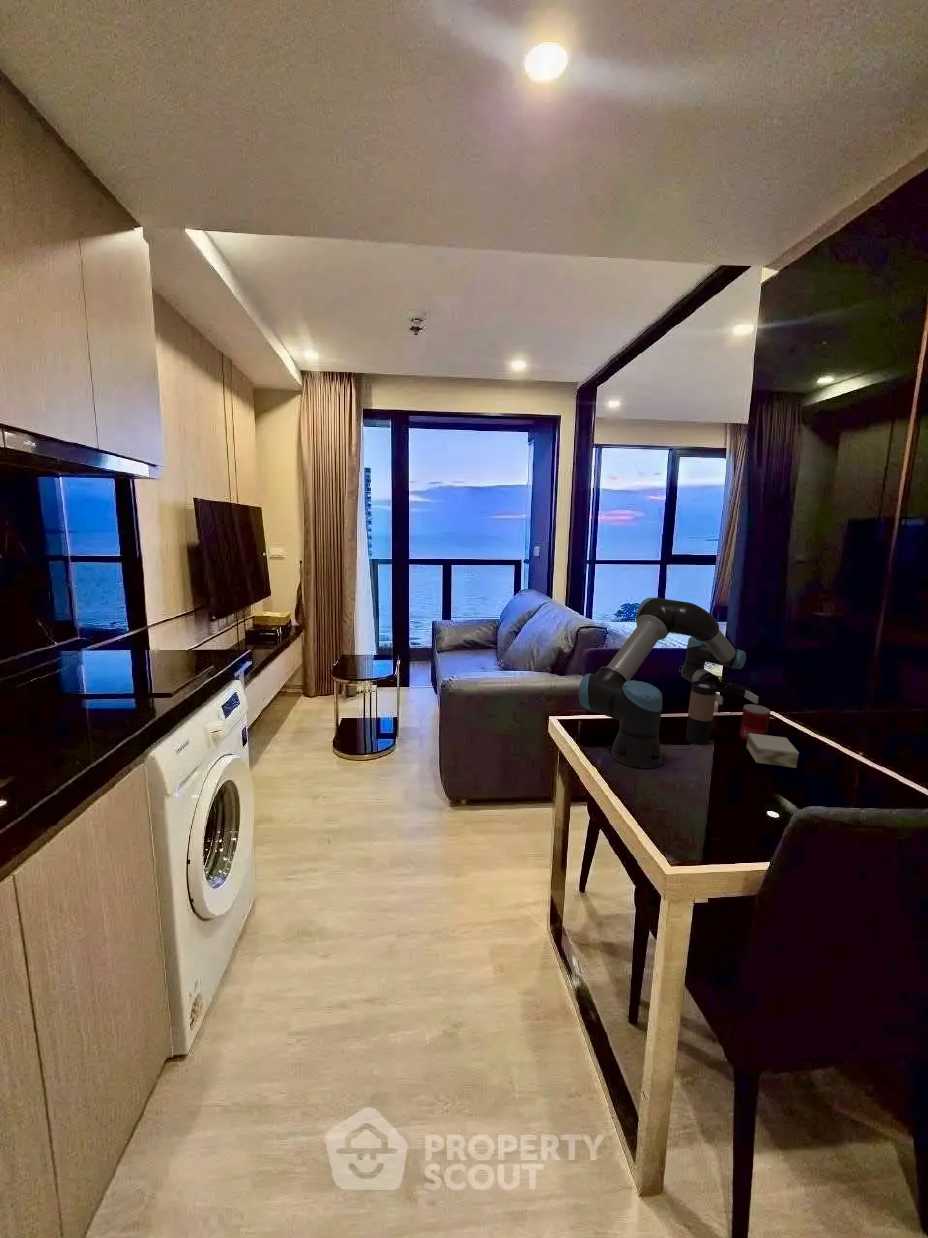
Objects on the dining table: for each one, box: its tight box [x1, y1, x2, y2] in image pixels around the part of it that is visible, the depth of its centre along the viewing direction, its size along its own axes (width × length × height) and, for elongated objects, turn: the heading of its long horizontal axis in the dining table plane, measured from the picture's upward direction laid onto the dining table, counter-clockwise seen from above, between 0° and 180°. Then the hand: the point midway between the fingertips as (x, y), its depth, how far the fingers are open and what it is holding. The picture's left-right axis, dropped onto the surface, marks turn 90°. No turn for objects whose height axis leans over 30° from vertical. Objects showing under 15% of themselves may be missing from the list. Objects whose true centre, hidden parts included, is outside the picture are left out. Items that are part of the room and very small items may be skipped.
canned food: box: [739, 703, 771, 741], centre depth 172 cm, size 8×8×11 cm
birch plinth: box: [746, 733, 800, 769], centre depth 159 cm, size 11×11×5 cm
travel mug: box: [685, 681, 717, 746], centre depth 168 cm, size 8×8×20 cm
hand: (739, 700), depth 181 cm, fingers open, 13 cm apart
